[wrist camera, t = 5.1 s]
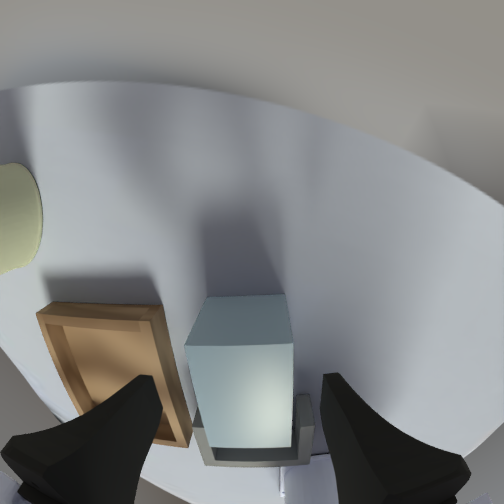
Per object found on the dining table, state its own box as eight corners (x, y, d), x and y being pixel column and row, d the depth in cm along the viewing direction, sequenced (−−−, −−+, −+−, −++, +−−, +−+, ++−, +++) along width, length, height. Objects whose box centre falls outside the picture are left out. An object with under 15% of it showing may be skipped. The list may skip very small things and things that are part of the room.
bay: (305, 435, 21) (309, 464, 18) (210, 437, 21) (205, 465, 18) (309, 394, 20) (314, 425, 16) (200, 396, 20) (191, 427, 17)
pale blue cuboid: (286, 387, 20) (290, 446, 14) (221, 389, 20) (209, 446, 14) (284, 293, 18) (293, 343, 12) (207, 296, 18) (184, 345, 12)
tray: (193, 428, 21) (188, 448, 19) (96, 412, 22) (86, 428, 19) (162, 304, 18) (149, 321, 16) (53, 301, 19) (35, 313, 16)
